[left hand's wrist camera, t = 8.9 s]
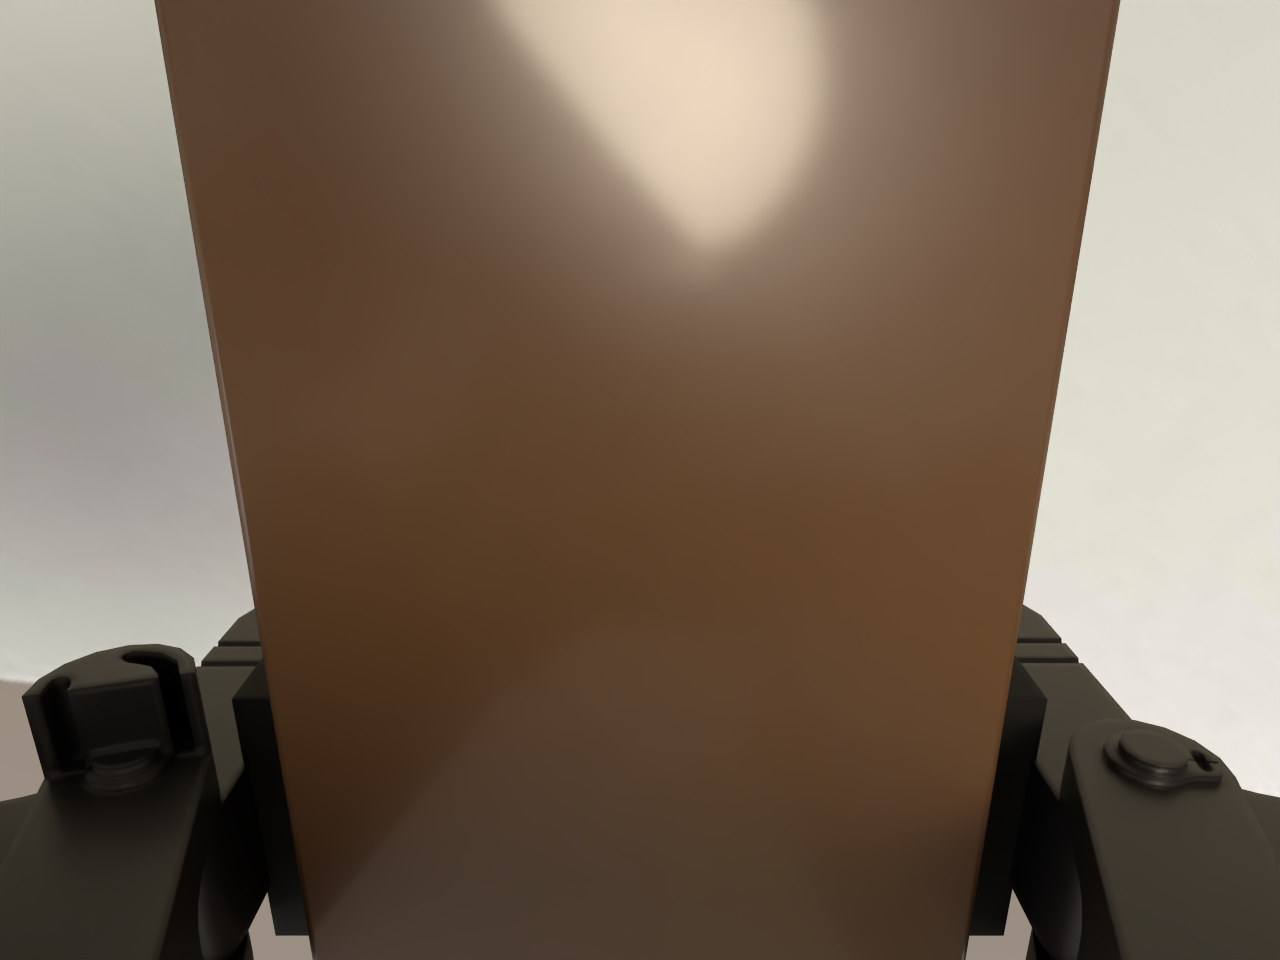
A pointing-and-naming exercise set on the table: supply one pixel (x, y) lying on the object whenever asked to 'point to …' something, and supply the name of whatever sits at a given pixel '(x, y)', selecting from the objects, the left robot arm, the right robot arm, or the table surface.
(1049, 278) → the post
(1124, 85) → the table surface
